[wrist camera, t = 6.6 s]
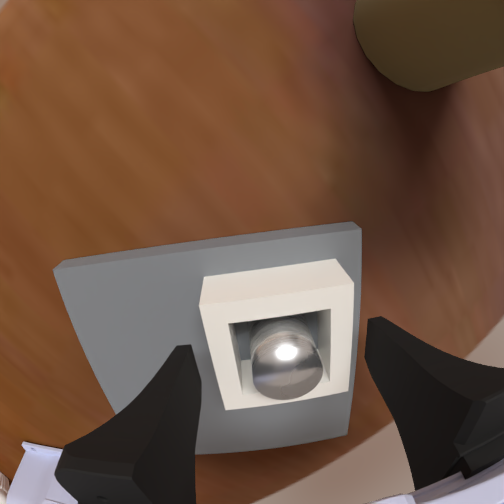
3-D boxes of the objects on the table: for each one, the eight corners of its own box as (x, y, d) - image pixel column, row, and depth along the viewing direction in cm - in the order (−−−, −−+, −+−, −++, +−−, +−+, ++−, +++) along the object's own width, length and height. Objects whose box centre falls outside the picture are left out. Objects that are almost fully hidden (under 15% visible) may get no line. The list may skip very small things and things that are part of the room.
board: (143, 441, 19) (140, 453, 18) (63, 260, 14) (52, 269, 13) (342, 422, 19) (346, 434, 18) (352, 221, 14) (361, 228, 13)
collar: (225, 375, 16) (225, 410, 13) (203, 276, 14) (199, 305, 11) (335, 359, 16) (348, 391, 13) (335, 258, 14) (353, 283, 11)
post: (251, 349, 15) (256, 404, 12) (244, 303, 14) (248, 354, 11) (305, 341, 15) (322, 394, 12) (303, 294, 14) (323, 343, 11)
